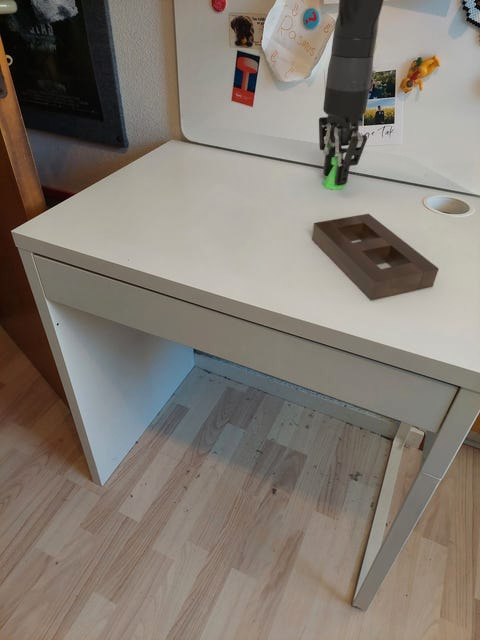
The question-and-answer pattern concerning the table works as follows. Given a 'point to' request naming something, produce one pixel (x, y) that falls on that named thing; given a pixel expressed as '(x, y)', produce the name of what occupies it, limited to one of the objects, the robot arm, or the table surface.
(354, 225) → the socket pad
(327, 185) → the game piece
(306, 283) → the table surface
